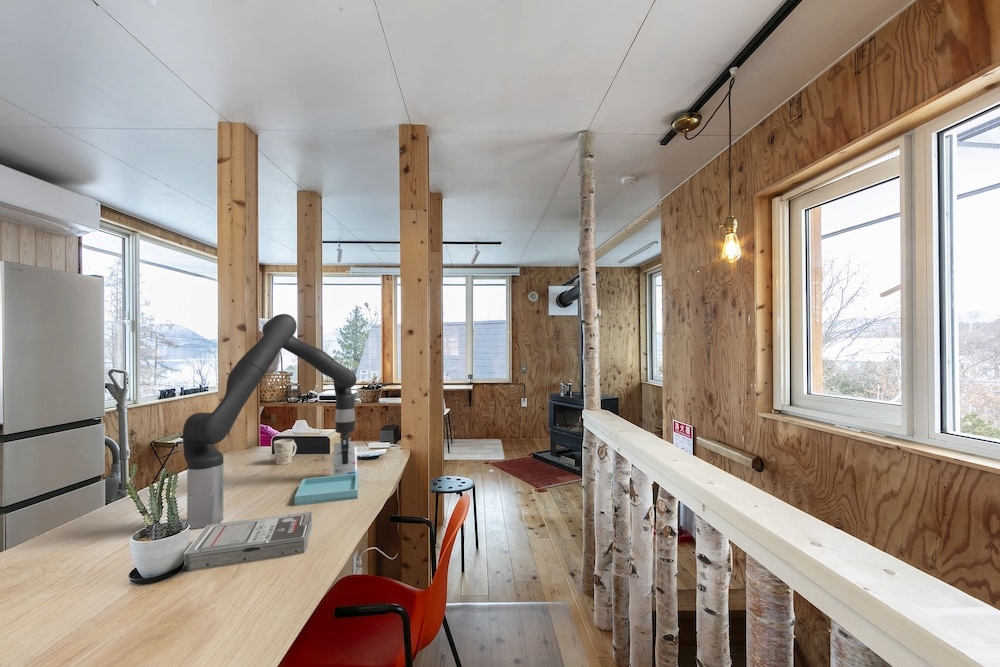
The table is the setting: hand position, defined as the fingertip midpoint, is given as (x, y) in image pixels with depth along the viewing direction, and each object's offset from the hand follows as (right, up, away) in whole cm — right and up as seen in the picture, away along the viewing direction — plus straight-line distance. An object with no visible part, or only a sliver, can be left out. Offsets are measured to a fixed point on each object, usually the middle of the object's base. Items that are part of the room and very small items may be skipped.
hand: (345, 461), depth 175 cm
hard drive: (-4, -6, -58) cm, 58 cm away
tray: (0, -6, -17) cm, 18 cm away
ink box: (0, -7, 0) cm, 7 cm away
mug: (-36, -8, +25) cm, 45 cm away
